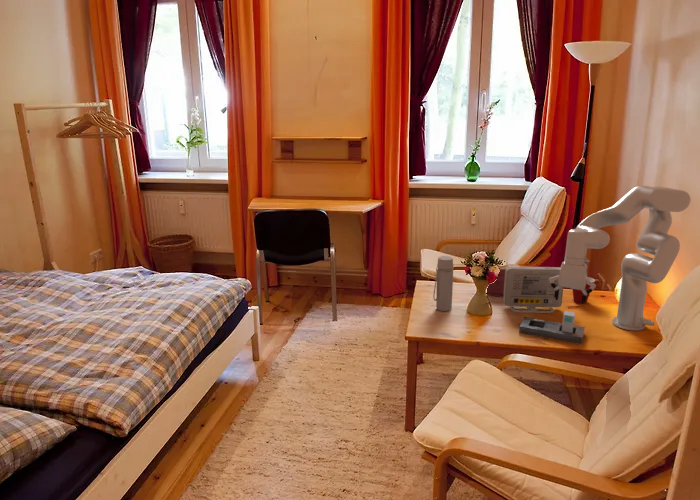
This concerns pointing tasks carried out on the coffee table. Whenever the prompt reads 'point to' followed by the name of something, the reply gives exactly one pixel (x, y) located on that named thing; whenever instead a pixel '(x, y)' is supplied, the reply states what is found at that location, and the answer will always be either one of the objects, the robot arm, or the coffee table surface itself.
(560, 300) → the network device
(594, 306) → the coffee table surface
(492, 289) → the canister
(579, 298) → the plastic cup
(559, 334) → the panel
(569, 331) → the plug
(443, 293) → the water bottle
